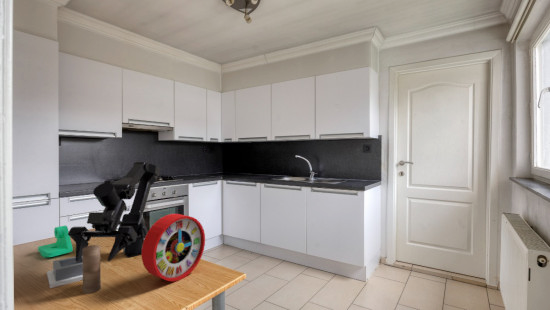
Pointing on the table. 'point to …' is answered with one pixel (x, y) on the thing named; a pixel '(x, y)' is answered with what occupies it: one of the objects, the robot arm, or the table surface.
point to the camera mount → (57, 243)
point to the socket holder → (65, 272)
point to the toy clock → (173, 247)
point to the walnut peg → (91, 269)
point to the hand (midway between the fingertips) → (92, 260)
